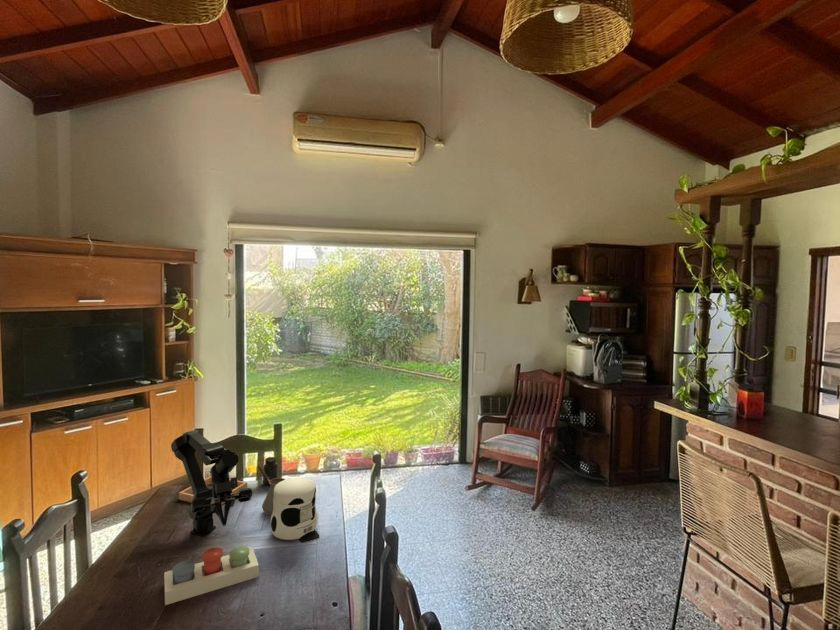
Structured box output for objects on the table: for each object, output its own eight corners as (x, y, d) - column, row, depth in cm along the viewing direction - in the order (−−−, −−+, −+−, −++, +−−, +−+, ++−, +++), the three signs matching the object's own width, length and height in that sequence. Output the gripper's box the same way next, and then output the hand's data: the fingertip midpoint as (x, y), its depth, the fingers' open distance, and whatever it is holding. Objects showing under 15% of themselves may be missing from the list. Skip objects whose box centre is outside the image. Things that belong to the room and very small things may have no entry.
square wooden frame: (178, 499, 186) (178, 492, 186) (212, 481, 204) (212, 475, 204) (215, 508, 180) (215, 501, 180) (247, 488, 198) (247, 482, 198)
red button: (200, 569, 137) (201, 550, 137) (221, 563, 140) (221, 545, 140) (202, 580, 132) (202, 561, 132) (224, 574, 135) (224, 555, 135)
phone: (307, 518, 174) (320, 536, 162) (307, 520, 174) (320, 538, 162) (289, 523, 170) (300, 542, 158) (289, 525, 170) (300, 544, 158)
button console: (164, 584, 134) (164, 572, 134) (252, 559, 147) (252, 548, 147) (164, 605, 125) (164, 592, 125) (258, 576, 139) (258, 564, 139)
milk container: (279, 518, 174) (280, 475, 172) (322, 520, 173) (323, 477, 172) (263, 544, 156) (263, 496, 155) (310, 546, 156) (311, 498, 155)
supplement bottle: (263, 487, 199) (263, 462, 199) (261, 481, 205) (261, 457, 205) (278, 485, 203) (279, 460, 202) (276, 479, 209) (276, 455, 208)
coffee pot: (296, 511, 180) (297, 476, 179) (271, 521, 171) (271, 485, 170) (269, 494, 194) (269, 461, 193) (244, 503, 185) (245, 469, 184)
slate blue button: (172, 582, 133) (172, 564, 133) (193, 576, 136) (193, 558, 136) (172, 594, 128) (172, 575, 128) (195, 588, 131) (195, 569, 131)
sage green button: (228, 566, 141) (228, 549, 141) (247, 561, 145) (247, 544, 144) (230, 577, 136) (230, 559, 136) (250, 571, 140) (251, 553, 139)
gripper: (191, 475, 142) (194, 524, 133) (251, 465, 152) (257, 509, 143) (190, 489, 149) (192, 535, 141) (247, 478, 159) (252, 521, 150)
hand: (224, 525), depth 144 cm, fingers closed
